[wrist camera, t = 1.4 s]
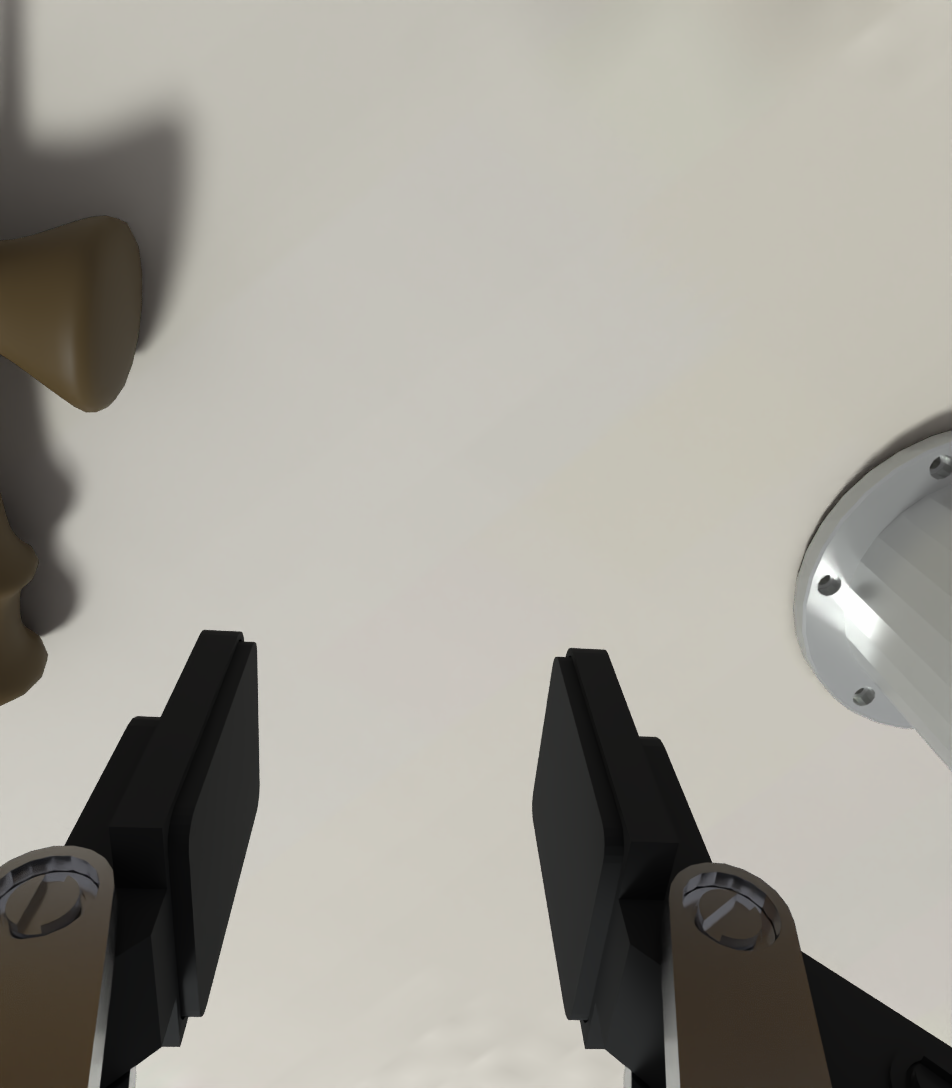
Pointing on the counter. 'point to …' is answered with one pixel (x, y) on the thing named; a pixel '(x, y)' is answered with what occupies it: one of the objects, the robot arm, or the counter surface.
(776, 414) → the counter surface
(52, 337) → the kendama
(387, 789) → the counter surface
